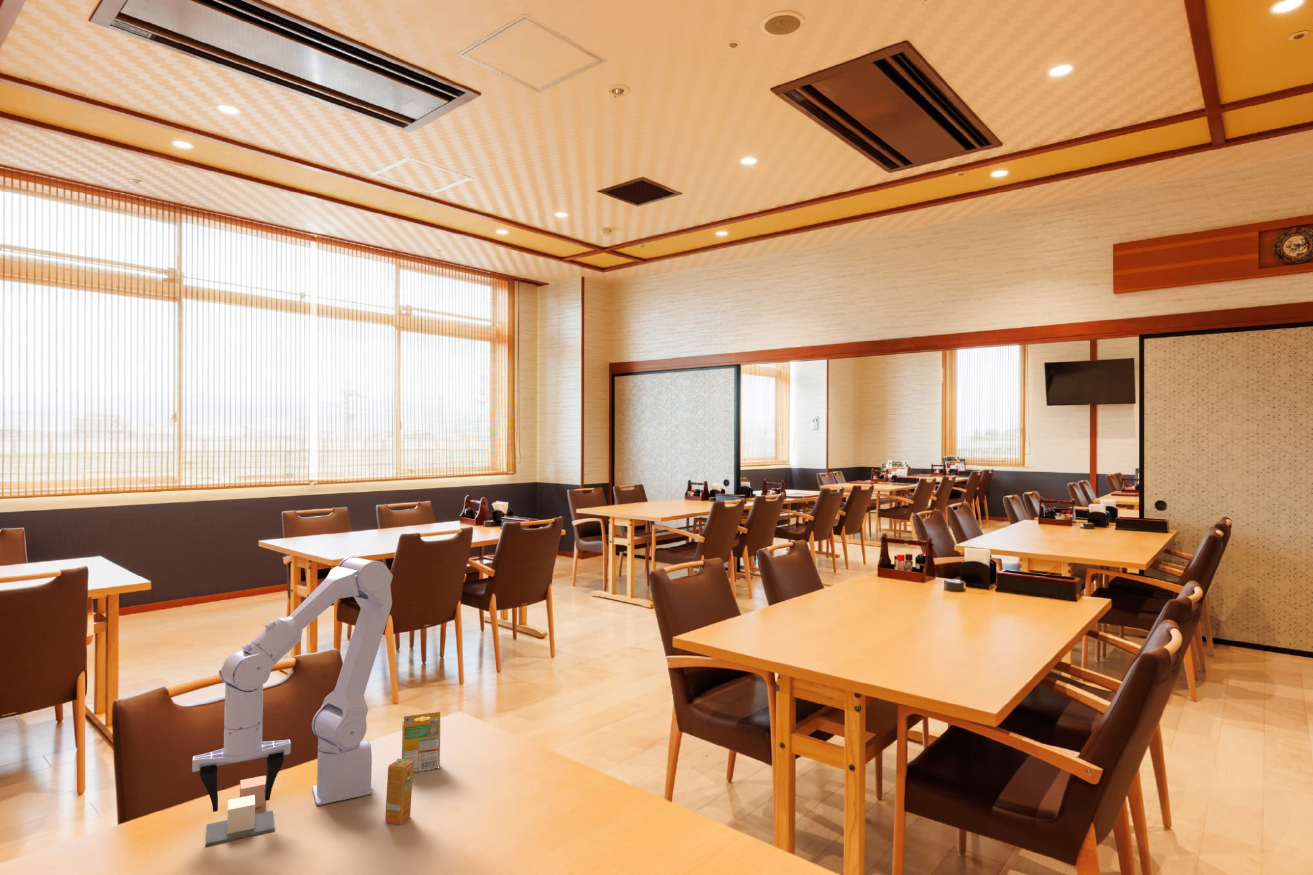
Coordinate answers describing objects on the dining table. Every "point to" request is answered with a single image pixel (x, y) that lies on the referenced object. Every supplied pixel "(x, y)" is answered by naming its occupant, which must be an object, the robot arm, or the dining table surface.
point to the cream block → (241, 814)
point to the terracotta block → (254, 789)
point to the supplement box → (399, 791)
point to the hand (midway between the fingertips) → (241, 803)
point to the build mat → (219, 831)
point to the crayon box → (421, 741)
